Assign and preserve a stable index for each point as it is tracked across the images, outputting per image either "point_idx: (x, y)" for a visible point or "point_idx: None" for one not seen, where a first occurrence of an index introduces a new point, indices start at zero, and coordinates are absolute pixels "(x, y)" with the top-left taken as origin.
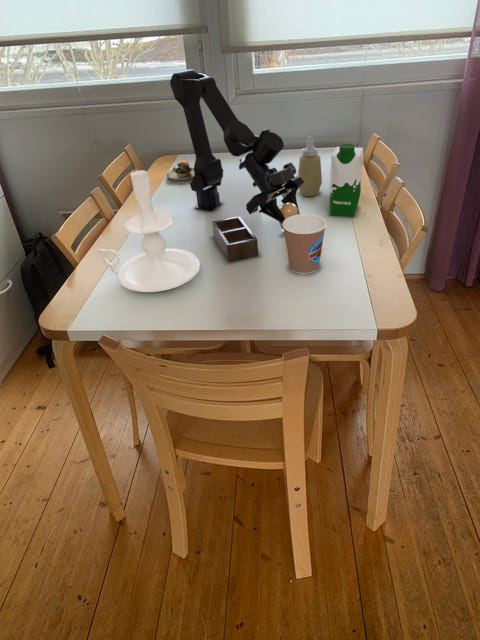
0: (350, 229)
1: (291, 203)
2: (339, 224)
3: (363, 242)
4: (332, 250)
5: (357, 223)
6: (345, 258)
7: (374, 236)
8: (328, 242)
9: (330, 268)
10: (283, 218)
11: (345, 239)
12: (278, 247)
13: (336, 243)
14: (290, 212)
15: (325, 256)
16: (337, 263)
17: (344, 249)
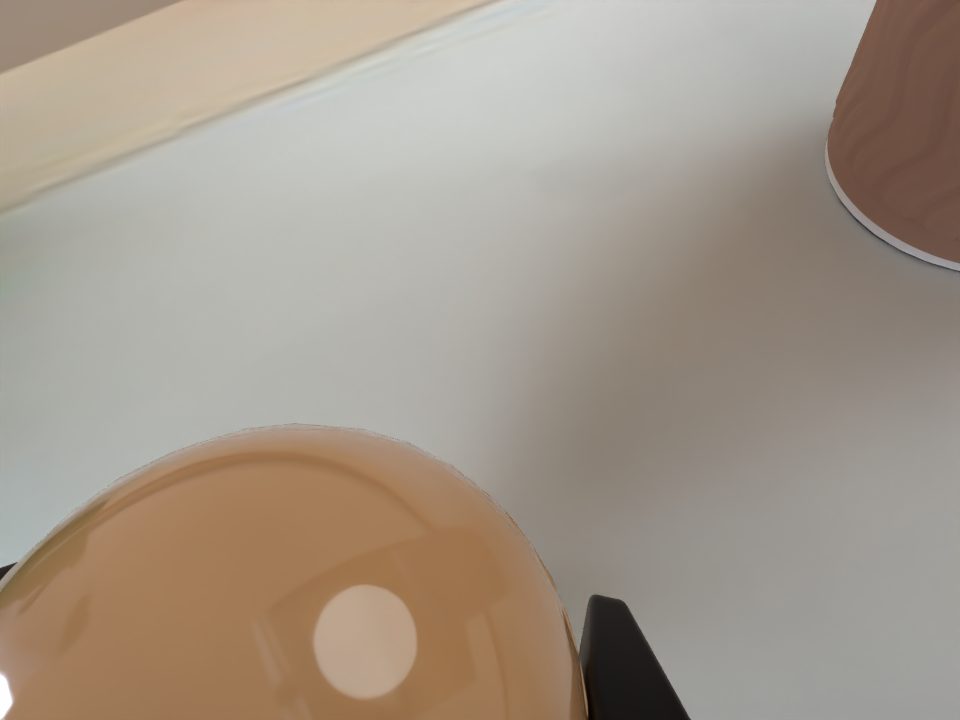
0: (137, 172)
1: (59, 635)
2: (47, 278)
3: (330, 36)
4: (545, 131)
5: (17, 174)
6: (610, 27)
7: (221, 24)
8: (425, 209)
9: (809, 36)
10: (660, 688)
11: (324, 134)
12: (816, 615)
13: (417, 155)
14: (489, 514)
15: (668, 129)
16: (710, 34)
17: (486, 79)
